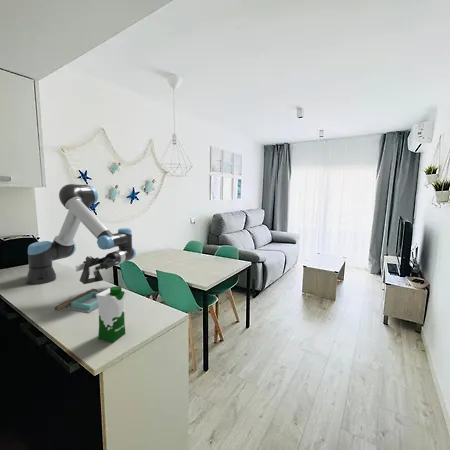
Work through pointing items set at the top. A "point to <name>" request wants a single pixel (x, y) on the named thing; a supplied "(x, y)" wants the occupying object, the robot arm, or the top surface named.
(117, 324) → the milk carton
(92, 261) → the phone stand
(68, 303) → the strip
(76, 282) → the top surface
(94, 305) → the cradle
